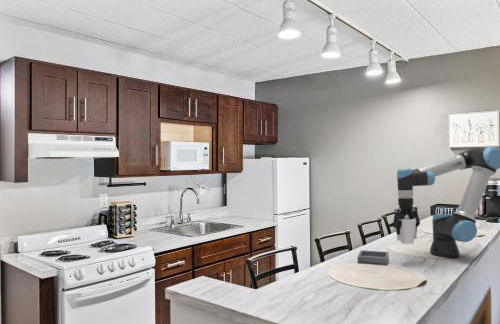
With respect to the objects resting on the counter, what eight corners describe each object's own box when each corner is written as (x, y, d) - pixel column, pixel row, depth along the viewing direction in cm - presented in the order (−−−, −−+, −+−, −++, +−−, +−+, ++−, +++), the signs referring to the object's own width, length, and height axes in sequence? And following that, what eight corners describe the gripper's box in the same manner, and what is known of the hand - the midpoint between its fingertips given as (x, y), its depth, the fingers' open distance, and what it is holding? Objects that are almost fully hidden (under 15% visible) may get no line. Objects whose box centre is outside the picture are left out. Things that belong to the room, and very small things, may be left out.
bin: (388, 258, 216) (388, 252, 216) (387, 265, 202) (387, 258, 202) (360, 256, 221) (360, 250, 221) (357, 263, 207) (357, 256, 207)
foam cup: (418, 244, 200) (417, 219, 200) (399, 244, 202) (398, 219, 202) (414, 240, 210) (413, 216, 210) (396, 240, 212) (395, 217, 212)
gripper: (415, 195, 214) (417, 236, 214) (384, 198, 205) (385, 240, 205) (426, 196, 207) (428, 238, 207) (394, 199, 198) (396, 243, 198)
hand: (407, 239), depth 206 cm, fingers closed on foam cup, 9 cm apart
